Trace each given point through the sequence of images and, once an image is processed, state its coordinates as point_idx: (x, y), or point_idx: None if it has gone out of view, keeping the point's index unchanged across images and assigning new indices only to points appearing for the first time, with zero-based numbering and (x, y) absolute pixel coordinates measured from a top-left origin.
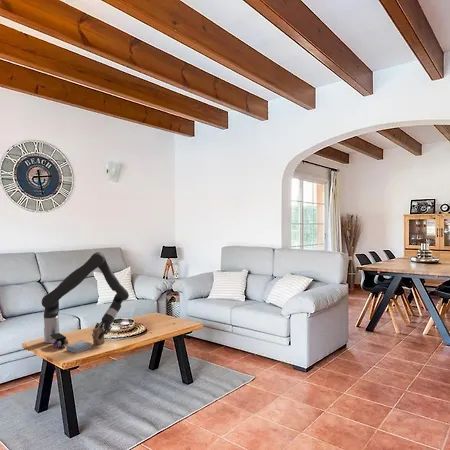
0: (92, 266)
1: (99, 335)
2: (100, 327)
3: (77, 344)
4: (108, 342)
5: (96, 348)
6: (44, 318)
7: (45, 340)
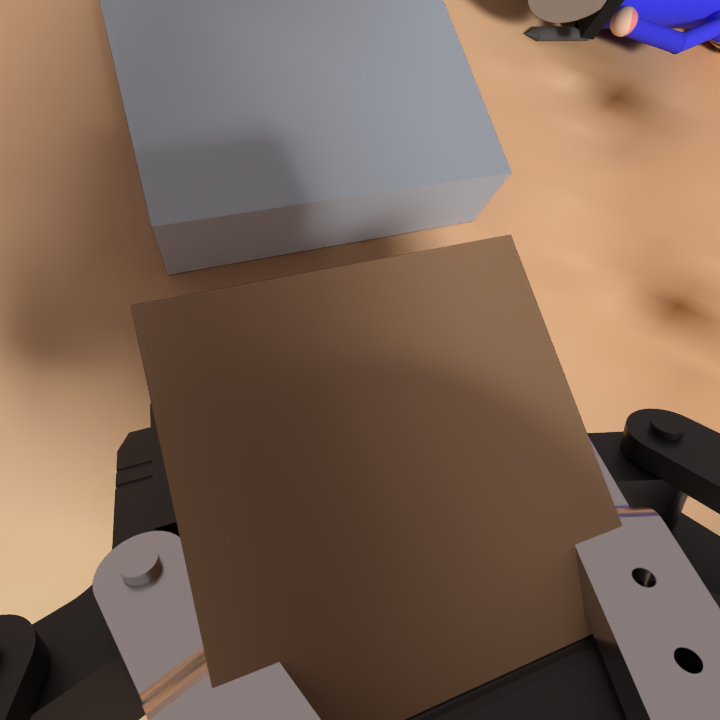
0: None
1: None
2: (544, 664)
3: (323, 27)
4: None
5: (41, 317)
6: None
7: None
